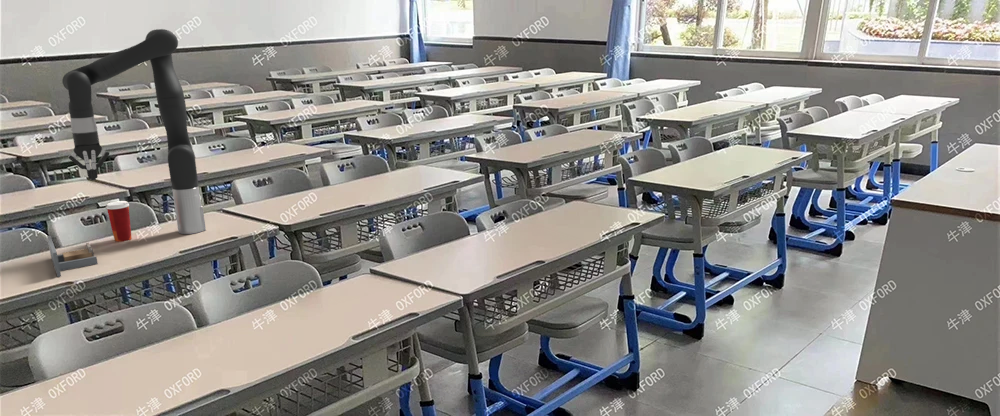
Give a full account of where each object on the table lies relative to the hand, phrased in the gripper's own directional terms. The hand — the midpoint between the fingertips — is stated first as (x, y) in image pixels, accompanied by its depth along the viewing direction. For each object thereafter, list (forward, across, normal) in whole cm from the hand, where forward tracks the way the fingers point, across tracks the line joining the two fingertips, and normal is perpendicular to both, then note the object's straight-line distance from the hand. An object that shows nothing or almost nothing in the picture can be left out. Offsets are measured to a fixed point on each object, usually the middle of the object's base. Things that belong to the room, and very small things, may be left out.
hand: (93, 179), depth 246 cm
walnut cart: (+25, +9, +12) cm, 29 cm away
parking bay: (+25, +10, +13) cm, 30 cm away
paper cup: (+25, -7, -8) cm, 27 cm away
